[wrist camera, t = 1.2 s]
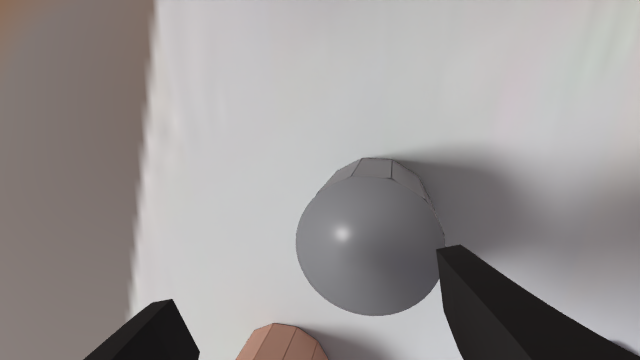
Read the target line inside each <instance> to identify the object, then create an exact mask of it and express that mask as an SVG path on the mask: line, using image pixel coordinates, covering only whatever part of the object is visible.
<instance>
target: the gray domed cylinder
mask: <svg viewBox="0 0 640 360" xmlns="http://www.w3.org/2000/svg"><path fill="white" fill-rule="evenodd" d="M439 248H445V241H444V233H443V231H442V228H441V226H440V223H439V221H438V218H437V216H436V213H435V210H434V208H433V205H432V203H431V201H430V199H429V197H428V195H427V193H426V191H425V189H424V187H423V185H422V183H421V181H420V179H419V177H418V176H417V175H416V174H414V173H413V172H411V171H410V170H408V169H406V168H405V167H403V166H402V165H400V164H399V163H397V162H395V161H394V160H392V159H372V158H361V159H359V160H357V161H355V162H353V163H351V164H349V165H347V166H346V167H344V168H342V169H340V170H338V171H336V172H335V174H334V175H333V176H332V177H331V178H330V179H329V180H328V181H327V183H326V184H325V185H324V186H323V187H322V188H321V189H320V190H319V191H318V193H317V194H316V196H315V197H314V198H313V199H312V201H311V202H310V203H309V204H308V206H307V207H306V209H305V210H304V212H303V214H302V216H301V218H300V221H299V224H298V228H297V233H296V252H297V257H298V261H299V264H300V266H301V269H302V271H303V273H304V275H305V277H306V278H307V280H308V281H309V283H310V284H311V285H312V287H313V288H314V289H315V290H316V291H317V292H318V293H319V294H320V295H321V296H322V297H324V298H325V299H326V300H328V301H329V302H330V303H332V304H334V305H335V306H337V307H339V308H342V309H344V310H346V311H349V312H352V313H356V314H361V315H368V316H384V315H391V314H395V313H398V312H401V311H404V310H406V309H409V308H410V307H412V306H414V305H416V304H417V303H419V302H420V301H421V300H423V299H424V298H425V297H426V296H427V295H428V294H429V293H430V292H431V290H432V289H433V288H434V286H435V285H436V283H437V281H438V280H439V270H438V262H437V254H436V249H439Z"/></svg>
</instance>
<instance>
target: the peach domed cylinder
mask: <svg viewBox="0 0 640 360" xmlns="http://www.w3.org/2000/svg"><path fill="white" fill-rule="evenodd" d="M236 360H328V358H327V357H326V355H325V353H324V351H323V350H322V348H321V346H320V344H319V343H318V342H317V340H315V339H314V338H312V337H311V336H309V335H308V334H307V333H305V332H304V331H302V330H301V329H299V328H298V327H294V326H288V325H282V324H276V323H274V324H270V325H267V326H265V327H262V328H259V329H257V330H254V332H253V333H252V335H251V336H250V338H249V339H248V341H247V342H246V344H245V345H244V347H243V348H242V350H241V352H240V353H239V355H238V356H237V358H236Z"/></svg>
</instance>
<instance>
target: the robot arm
mask: <svg viewBox="0 0 640 360" xmlns="http://www.w3.org/2000/svg"><path fill="white" fill-rule="evenodd" d="M436 254H437V262H438V270H439V278H440V286H441V293H442V301H443V309H444V313H445V315H446V318H447V321H448V323H449V326H450V329H451V331H452V334H453V337H454V339H455V342H456V344H457V347H458V349H459V351H460V354H461V356H462V358H463V360H640V357H639V356H637V355H635V354H633V353H632V352H630V351H628V350H626V349H624V348H622V347H620V346H618V345H616V344H615V343H613V342H611V341H609V340H607V339H606V338H604V337H602V336H600V335H598V334H597V333H595V332H593V331H591V330H590V329H588V328H586V327H585V326H583V325H581V324H579V323H578V322H576V321H574V320H573V319H571V318H569V317H568V316H566V315H564V314H563V313H561V312H559V311H558V310H556V309H555V308H553V307H551V306H550V305H548V304H547V303H545V302H543V301H542V300H540V299H539V298H537V297H536V296H534V295H533V294H531V293H530V292H528V291H527V290H525V289H524V288H522V287H521V286H519V285H518V284H516V283H515V282H513V281H512V280H510V279H509V278H507V277H506V276H504V275H503V274H501V273H500V272H499V271H497V270H496V269H494V268H493V267H492V266H490V265H489V264H487V263H486V262H485V261H483V260H482V259H480V258H479V257H478V256H476V255H475V254H473V253H472V252H471V251H469V250H468V249H466V248H465V247H463V246H462V245H455V246H450V247H445V248H439V249H436ZM199 354H200V351H199V349H198V347H197V345H196V344H195V342H194V340H193V338H192V336H191V334H190V332H189V330H188V328H187V326H186V324H185V322H184V320H183V318H182V317H181V315H180V313H179V311H178V309H177V307H176V305H175V303H174V301H173V299H169V300H164V301H159V302H153V303H151V304H150V305H148V306H147V307H146V308H144V309H143V310H142V311H140V312H139V313H138V314H137V315H135V316H134V317H133V318H132V319H130V320H129V321H128V322H127V323H126V324H124V325H123V326H122V327H121V328H120V329H119V330H117V331H116V332H115V333H114V334H113V335H111V336H110V337H109V338H108V339H107V340H106V341H105V342H103V343H102V344H101V345H100V346H99V347H98V348H96V349H95V350H94V351H93V352H92V353H90V354H89V355H88V356H87V357H86V358H85V359H84V360H198V358H199Z"/></svg>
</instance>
